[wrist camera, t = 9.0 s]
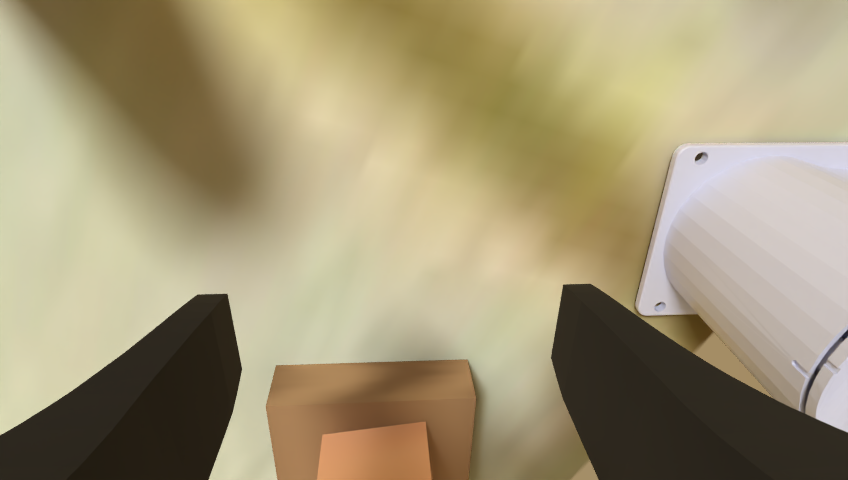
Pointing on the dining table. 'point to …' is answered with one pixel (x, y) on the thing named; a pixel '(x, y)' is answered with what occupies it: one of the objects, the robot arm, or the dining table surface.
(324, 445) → the peach foam cube
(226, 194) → the dining table surface
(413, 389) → the block
